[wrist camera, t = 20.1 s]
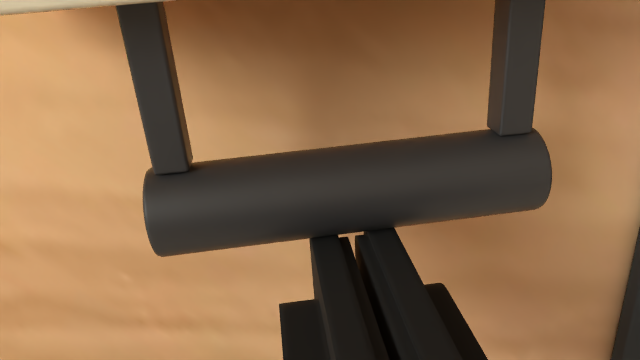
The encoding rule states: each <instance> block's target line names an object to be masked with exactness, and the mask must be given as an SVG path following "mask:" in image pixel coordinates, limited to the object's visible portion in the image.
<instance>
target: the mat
mask: <svg viewBox="0 0 640 360" xmlns="http://www.w3.org/2000/svg"><path fill="white" fill-rule="evenodd" d="M611 360H640V229H639V233H638V238H637V242H636V247H635V252H634V256H633V261H632V265H631V270H630V275H629V279H628V284H627V289H626V293H625V298H624V302H623V307H622V312H621V316H620V321H619V325H618V330H617V335H616V339H615V344H614V348H613V353H612V358H611Z"/></svg>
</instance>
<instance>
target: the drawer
mask: <svg viewBox="0 0 640 360" xmlns="http://www.w3.org/2000/svg"><path fill="white" fill-rule="evenodd" d="M163 1H174V0H0V16H1V15H12V14H24V13H35V12H47V11H59V10H70V9H82V8H93V7H105V6H116V10H117V14H118V19H119V23H120V27H121V32H122V36H123V40H124V45H125V49H126V54H127V58H128V62H129V67H130V71H131V75H132V80H133V84H134V88H135V93H136V97H137V102H138V106H139V110H140V115H141V119H142V123H143V128H144V132H145V137H146V141H147V145H148V150H149V154H150V158H151V163H152V168H150V169H149V170H148V171H147V172H146V175H145V179H144V184H143V212H144V220H145V226H146V230H147V235H148V238H149V241H150V244H151V246H152V248H153V250H154V252H155V253H156V254H157V255H158V256H161V257H165V256H173V255H181V254H189V253H197V252H205V251H213V250H220V249H228V248H236V247H244V246H252V245H260V244H268V243H276V242H284V241H291V240H299V239H307V238H315V237H323V236H331V235H339V234H347V233H355V232H362V231H370V230H378V229H386V228H394V227H402V226H410V225H418V224H426V223H434V222H441V221H449V220H457V219H465V218H473V217H481V216H489V215H497V214H505V213H512V212H520V211H528V210H535V209H538V208H539V207H541V206H542V205H543V204H544V203H545V202H546V200H547V198H548V196H549V193H550V189H551V183H552V167H551V160H550V156H549V152H548V149H547V146H546V144H545V142H544V140H543V138H542V137H541V135H540V134H539V133H538V132H537V131H536V130H535V129H534V128H532V123H533V113H534V104H535V94H536V85H537V75H538V66H539V56H540V47H541V38H542V28H543V19H544V9H545V0H495V13H494V28H493V43H492V58H491V73H490V88H489V103H488V118H487V126H488V127H489V128H490V129H488V130H479V131H471V132H462V133H453V134H444V135H435V136H426V137H417V138H408V139H399V140H390V141H382V142H373V143H364V144H355V145H346V146H337V147H328V148H319V149H310V150H302V151H293V152H284V153H275V154H266V155H257V156H248V157H239V158H230V159H222V160H213V161H204V162H195V163H191V162H192V159H193V156H192V151H191V145H190V140H189V135H188V130H187V124H186V119H185V114H184V109H183V104H182V98H181V93H180V88H179V83H178V77H177V72H176V67H175V62H174V56H173V51H172V46H171V41H170V36H169V30H168V25H167V20H166V15H165V9H164V4H163Z"/></svg>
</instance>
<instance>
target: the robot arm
mask: <svg viewBox="0 0 640 360" xmlns="http://www.w3.org/2000/svg"><path fill="white" fill-rule="evenodd" d="M310 251H311V263H312V274H313V286H314V297H315V299H313V300H305V301H297V302H290V303H282V304H279V309H280V322H281V335H282V348H283V360H488V359H487V357H486V355H485V354H484V352H483V350H482V348H481V347H480V345H479V343H478V342H477V340H476V338H475V336H474V335H473V333H472V331H471V330H470V328H469V326H468V324H467V323H466V321H465V319H464V318H463V316H462V314H461V312H460V311H459V309H458V307H457V306H456V304H455V302H454V300H453V299H452V297H451V295H450V293H449V292H448V290H447V289H446V287H445V286H444V285H443V284H441V283H435V284H427V285H424V284H423V282H422V280H421V278H420V277H419V275H418V273H417V271H416V269H415V267H414V265H413V263H412V261H411V259H410V257H409V255H408V253H407V252H406V250H405V248H404V246H403V244H402V242H401V240H400V238H399V236H398V234H397V232H396V230H395V228H386V229H378V230H370V231H364V235H357V236H355V256H356V259H355V256H354V254H353V251H352V248H351V245H350V242H349V239H348V237H341V238H339V237H338V235H331V236H323V237H315V238H310Z"/></svg>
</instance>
